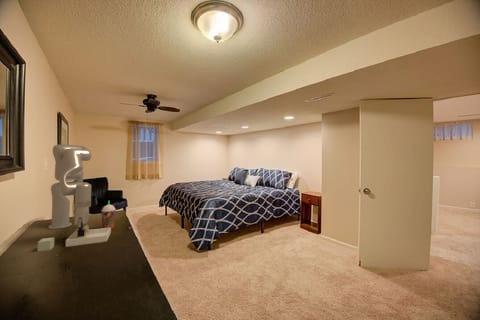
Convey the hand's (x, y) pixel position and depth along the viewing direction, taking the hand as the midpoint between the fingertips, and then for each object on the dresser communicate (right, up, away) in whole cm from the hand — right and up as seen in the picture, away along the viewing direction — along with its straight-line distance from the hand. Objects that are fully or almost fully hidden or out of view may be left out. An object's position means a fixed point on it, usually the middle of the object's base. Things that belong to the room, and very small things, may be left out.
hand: (82, 234), depth 120 cm
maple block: (0, -1, 0) cm, 1 cm away
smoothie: (+3, -4, +19) cm, 20 cm away
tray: (+4, -3, +2) cm, 5 cm away
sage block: (-10, -3, -12) cm, 16 cm away
